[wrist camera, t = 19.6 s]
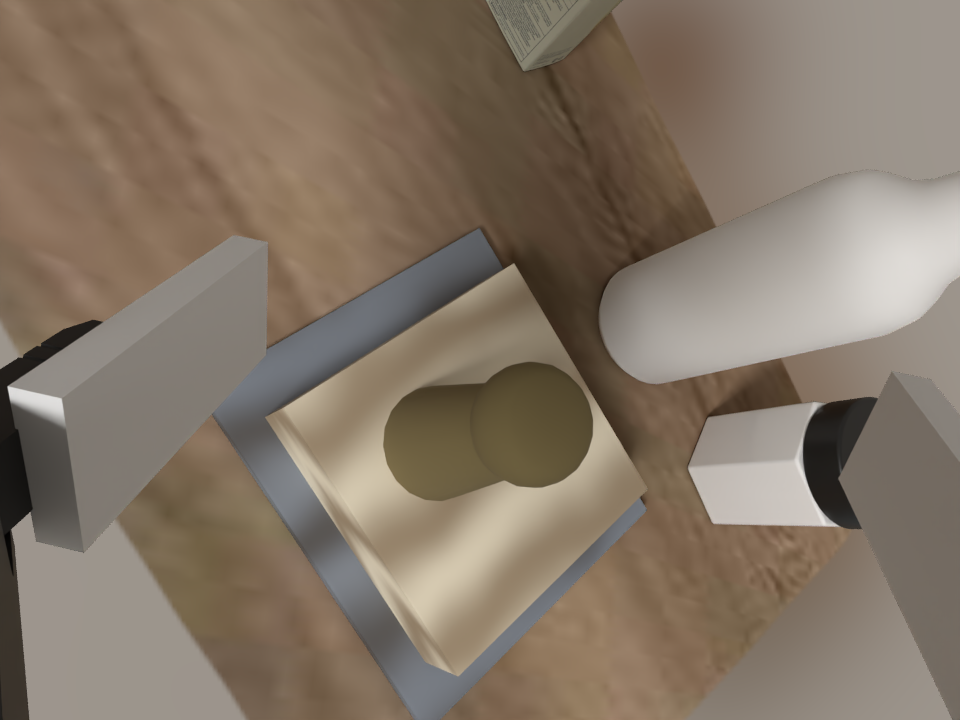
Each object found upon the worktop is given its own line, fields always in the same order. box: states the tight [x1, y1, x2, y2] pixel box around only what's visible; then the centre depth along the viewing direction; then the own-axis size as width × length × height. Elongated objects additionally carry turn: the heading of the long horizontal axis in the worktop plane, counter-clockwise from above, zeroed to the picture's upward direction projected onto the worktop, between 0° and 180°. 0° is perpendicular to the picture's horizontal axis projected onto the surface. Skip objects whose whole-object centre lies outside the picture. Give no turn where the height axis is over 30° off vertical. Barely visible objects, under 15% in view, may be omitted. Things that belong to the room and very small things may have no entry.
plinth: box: [212, 228, 648, 720], centre depth 41 cm, size 22×20×5 cm
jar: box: [688, 397, 878, 529], centre depth 49 cm, size 9×8×12 cm
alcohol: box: [598, 170, 960, 384], centre depth 40 cm, size 9×9×30 cm
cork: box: [383, 362, 593, 501], centre depth 33 cm, size 6×6×11 cm
